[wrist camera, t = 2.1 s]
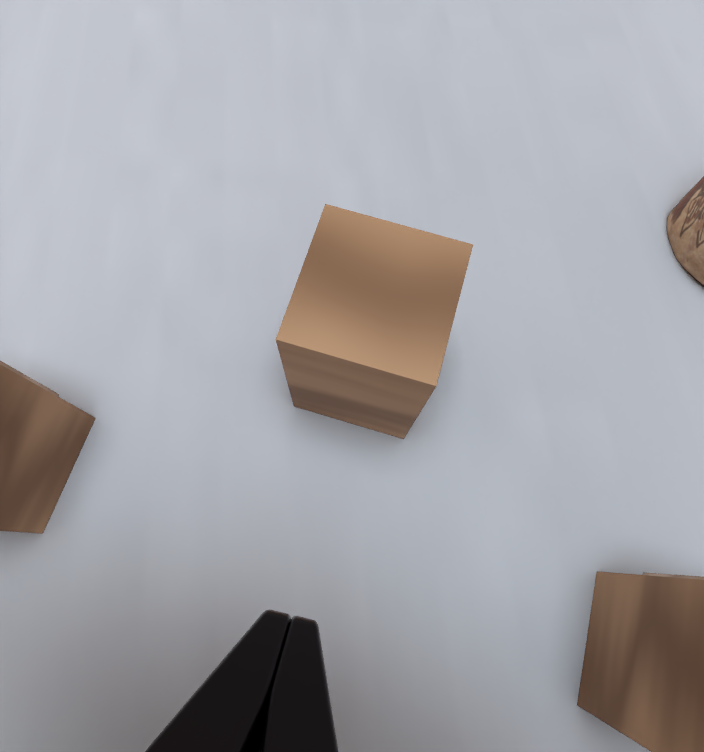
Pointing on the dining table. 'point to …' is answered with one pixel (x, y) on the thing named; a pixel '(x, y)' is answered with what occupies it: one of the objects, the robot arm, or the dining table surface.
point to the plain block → (370, 320)
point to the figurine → (689, 231)
